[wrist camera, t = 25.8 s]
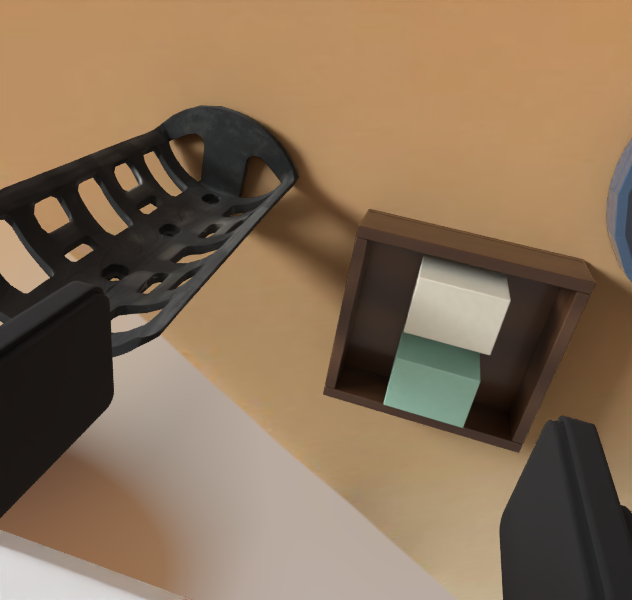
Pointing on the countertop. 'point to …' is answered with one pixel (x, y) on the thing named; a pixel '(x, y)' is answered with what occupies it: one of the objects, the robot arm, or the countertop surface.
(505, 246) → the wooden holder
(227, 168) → the holder
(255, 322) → the countertop surface
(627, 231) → the blue round tray
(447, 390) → the green block
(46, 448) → the robot arm
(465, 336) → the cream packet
